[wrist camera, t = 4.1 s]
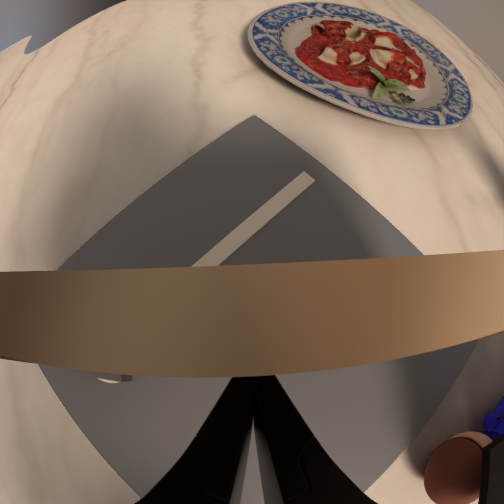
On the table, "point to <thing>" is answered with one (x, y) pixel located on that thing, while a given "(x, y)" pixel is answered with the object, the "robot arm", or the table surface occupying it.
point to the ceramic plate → (362, 64)
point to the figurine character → (469, 465)
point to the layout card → (245, 253)
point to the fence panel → (250, 315)
